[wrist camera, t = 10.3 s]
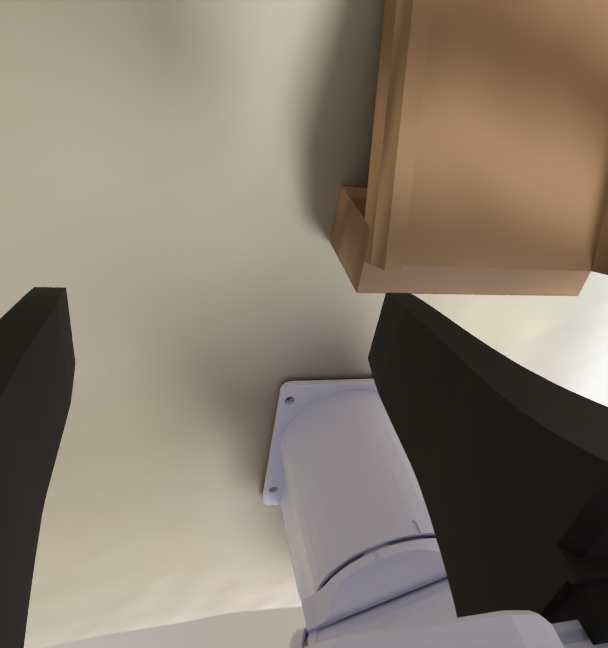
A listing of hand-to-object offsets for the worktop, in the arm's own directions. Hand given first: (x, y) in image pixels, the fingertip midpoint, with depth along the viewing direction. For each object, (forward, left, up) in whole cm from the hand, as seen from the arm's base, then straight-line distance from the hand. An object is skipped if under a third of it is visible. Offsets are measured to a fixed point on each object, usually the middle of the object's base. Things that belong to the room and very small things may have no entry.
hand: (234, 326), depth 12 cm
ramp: (+4, -10, -10) cm, 15 cm away
